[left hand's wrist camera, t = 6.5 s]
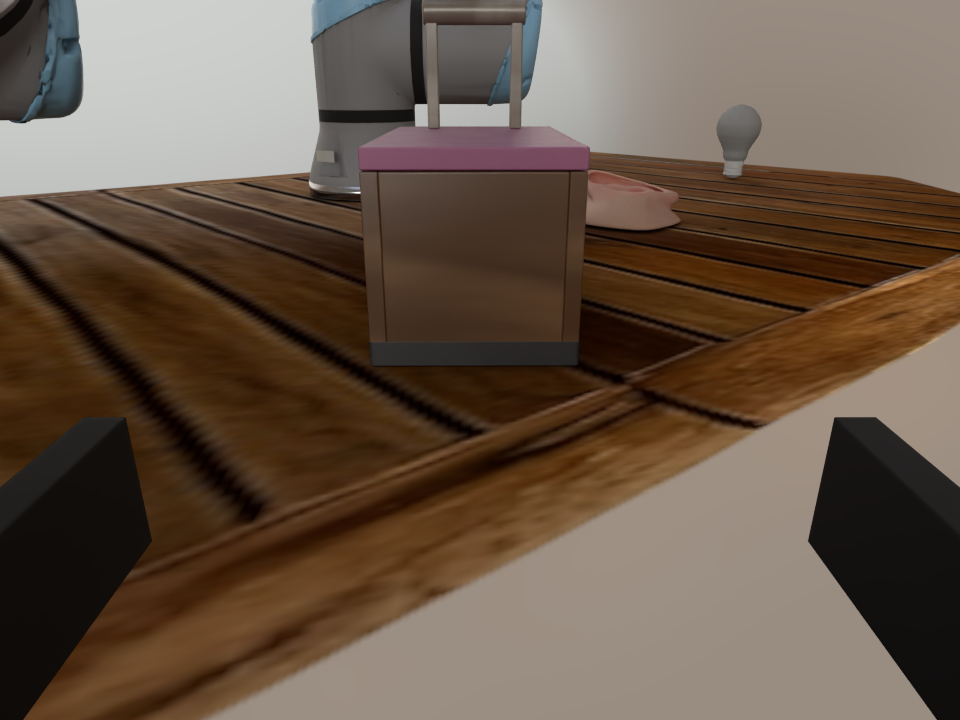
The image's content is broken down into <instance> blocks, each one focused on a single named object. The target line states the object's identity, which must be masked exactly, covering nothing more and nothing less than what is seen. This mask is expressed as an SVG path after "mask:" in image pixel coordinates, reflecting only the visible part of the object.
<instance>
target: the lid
mask: <svg viewBox="0 0 960 720" xmlns="http://www.w3.org/2000/svg"><path fill="white" fill-rule="evenodd" d="M422 18H423V24H424V25H425V26H426V64H427V101H428V127H398V128H396V129H394V130H392V131H390V132H388V133H386V134H384V135H382V136H380V137H378V138H376V139H374V140H372V141H370V142H368V143H366V144H364V145H362V146H360V147H358V163H359V170H588V169H589V154H590V148H589V147H588V146H586V145H584V144H582V143H580V142H578V141H576V140H574V139H572V138H570V137H568V136H566V135H565V134H563V133H561V132H559V131H557V130H555V129H553V128H551V127H521V99H522V51H523V25H525V23H526V0H422ZM438 25H511V49H510V117H509V127H440V111H439V62H438Z"/></svg>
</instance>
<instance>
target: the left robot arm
mask: <svg viewBox="0 0 960 720" xmlns="http://www.w3.org/2000/svg"><path fill="white" fill-rule="evenodd" d="M78 41H79V22H78V13H77V6H76V0H0V120H10V121H11V122H14V123H26V122H29V121H31V120H33V119H45V118H61V117H65V116H68V115H70V114H72V113H74V112H75V111H76V110H77V108H78V107H79V106H80V104H81V101H82V97H83V64H82V53H81V48H80V44H79V42H78ZM151 542H152V539H151V534H150V530H149V525H148V520H147V516H146V511H145V506H144V502H143V497H142V492H141V488H140V483H139V478H138V474H137V469H136V464H135V460H134V455H133V450H132V446H131V441H130V436H129V432H128V427H127V422H126V418H125V417H84V418H83V419H82V420H80V421H79V422H78V423H77V424H76V425H74V426H73V427H72V428H71V429H70V430H68V431H67V432H66V433H65V434H64V435H62V436H61V437H60V438H59V439H58V440H56V441H55V442H54V443H53V444H52V445H50V446H49V447H48V448H47V449H46V450H44V451H43V452H42V453H41V454H40V455H39V456H37V457H36V458H35V459H34V460H33V461H31V462H30V463H29V464H28V465H27V466H25V467H24V468H23V469H22V470H21V471H19V472H18V473H17V474H16V475H15V476H13V477H12V478H11V479H10V480H9V481H7V482H6V483H5V484H4V485H3V486H1V487H0V720H23V719H24V718H25V716H26V715H27V714H28V712H29V711H30V709H31V708H32V707H33V705H34V704H35V702H36V701H37V700H38V698H39V697H40V696H41V694H42V693H43V691H44V690H45V689H46V687H47V686H48V684H49V683H50V682H51V680H52V679H53V678H54V676H55V675H56V673H57V672H58V671H59V669H60V668H61V666H62V665H63V664H64V662H65V661H66V660H67V658H68V657H69V655H70V654H71V653H72V651H73V650H74V648H75V647H76V646H77V644H78V643H79V641H80V640H81V639H82V637H83V636H84V635H85V633H86V632H87V630H88V629H89V628H90V626H91V625H92V623H93V622H94V621H95V619H96V618H97V617H98V615H99V614H100V612H101V611H102V610H103V608H104V607H105V605H106V604H107V603H108V601H109V600H110V599H111V597H112V596H113V594H114V593H115V592H116V590H117V589H118V587H119V586H120V585H121V583H122V582H123V581H124V579H125V578H126V576H127V575H128V574H129V572H130V571H131V569H132V568H133V567H134V565H135V564H136V563H137V561H138V560H139V558H140V557H141V556H142V554H143V553H144V551H145V550H146V549H147V547H148V546H149V544H150V543H151ZM808 542H809V543H810V544H811V546H812V547H813V549H814V550H815V551H816V553H817V554H818V556H819V557H820V558H821V560H822V561H823V563H824V564H825V565H826V567H827V568H828V569H829V571H830V572H831V574H832V575H833V576H834V578H835V579H836V581H837V582H838V583H839V585H840V586H841V587H842V589H843V590H844V592H845V593H846V594H847V596H848V597H849V599H850V600H851V601H852V603H853V604H854V605H855V607H856V608H857V610H858V611H859V612H860V614H861V615H862V617H863V618H864V619H865V621H866V622H867V623H868V625H869V626H870V628H871V629H872V630H873V632H874V633H875V635H876V636H877V637H878V639H879V640H880V641H881V643H882V644H883V646H884V647H885V648H886V650H887V651H888V652H889V654H890V655H891V657H892V658H893V659H894V661H895V662H896V664H897V665H898V666H899V668H900V669H901V671H902V672H903V673H904V675H905V676H906V677H907V679H908V680H909V681H910V683H911V684H912V686H913V687H914V688H915V690H916V691H917V693H918V694H919V696H920V697H921V698H922V700H923V701H924V702H925V704H926V705H927V707H928V708H929V709H930V711H931V712H932V714H933V715H934V716H935V718H936V719H937V720H960V487H959V486H957V485H956V484H955V483H954V482H953V481H951V480H950V479H949V478H948V477H947V476H945V475H944V474H943V473H942V472H941V471H939V470H938V469H937V468H936V467H935V466H933V465H932V464H931V463H930V462H929V461H927V460H926V459H925V458H924V457H923V456H921V455H920V454H919V453H918V452H917V451H916V450H914V449H913V448H912V447H911V446H910V445H908V444H907V443H906V442H905V441H904V440H902V439H901V438H900V437H899V436H898V435H896V434H895V433H894V432H893V431H891V430H890V429H889V428H888V427H887V426H886V425H884V424H883V423H882V422H881V421H880V420H878V419H877V418H876V417H835V418H834V422H833V427H832V432H831V436H830V441H829V446H828V450H827V455H826V460H825V464H824V469H823V474H822V478H821V483H820V488H819V492H818V497H817V502H816V506H815V511H814V516H813V521H812V525H811V530H810V534H809V539H808Z"/></svg>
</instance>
